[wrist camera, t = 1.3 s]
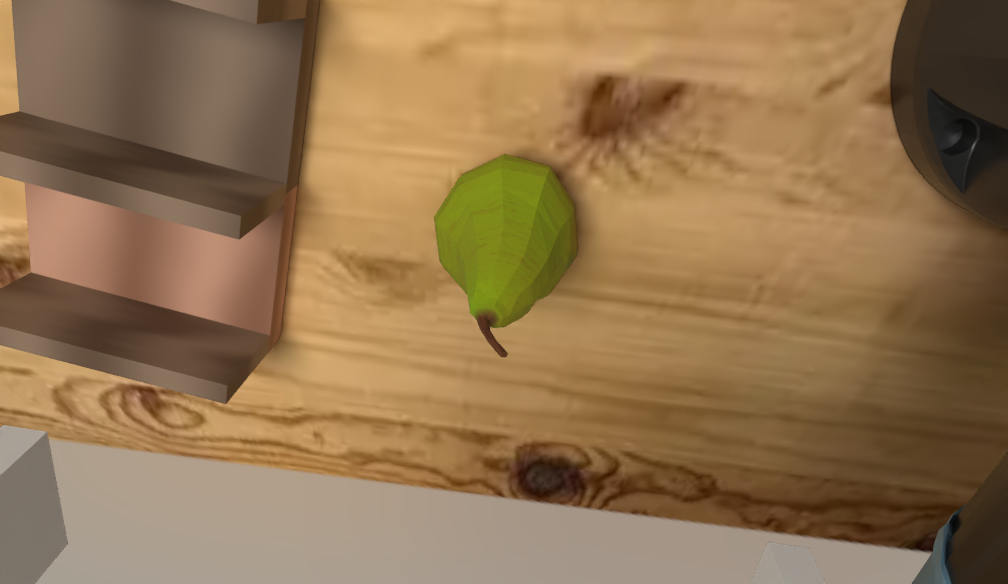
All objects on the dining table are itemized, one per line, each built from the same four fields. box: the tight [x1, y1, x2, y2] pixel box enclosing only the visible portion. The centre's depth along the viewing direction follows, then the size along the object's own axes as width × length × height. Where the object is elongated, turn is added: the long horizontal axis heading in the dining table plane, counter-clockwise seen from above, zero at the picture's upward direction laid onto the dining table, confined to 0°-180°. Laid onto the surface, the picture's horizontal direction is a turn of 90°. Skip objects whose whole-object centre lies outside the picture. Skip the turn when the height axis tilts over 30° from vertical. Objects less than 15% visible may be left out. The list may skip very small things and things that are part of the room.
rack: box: [0, 0, 320, 404], centre depth 28 cm, size 12×17×6 cm
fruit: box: [434, 154, 578, 357], centre depth 25 cm, size 6×6×12 cm
